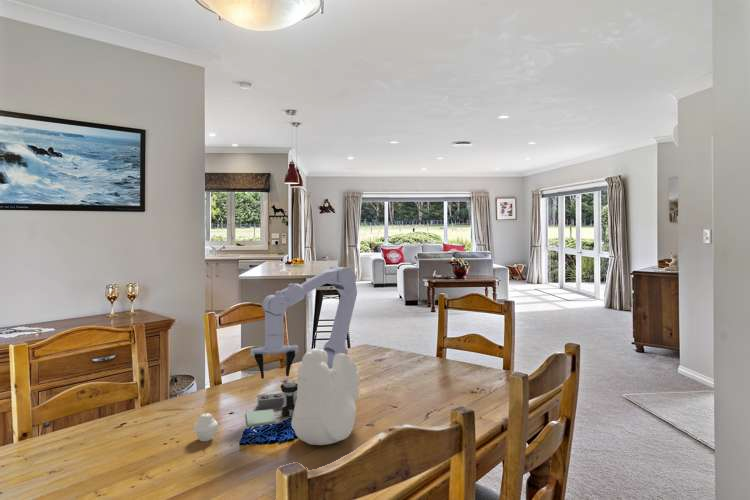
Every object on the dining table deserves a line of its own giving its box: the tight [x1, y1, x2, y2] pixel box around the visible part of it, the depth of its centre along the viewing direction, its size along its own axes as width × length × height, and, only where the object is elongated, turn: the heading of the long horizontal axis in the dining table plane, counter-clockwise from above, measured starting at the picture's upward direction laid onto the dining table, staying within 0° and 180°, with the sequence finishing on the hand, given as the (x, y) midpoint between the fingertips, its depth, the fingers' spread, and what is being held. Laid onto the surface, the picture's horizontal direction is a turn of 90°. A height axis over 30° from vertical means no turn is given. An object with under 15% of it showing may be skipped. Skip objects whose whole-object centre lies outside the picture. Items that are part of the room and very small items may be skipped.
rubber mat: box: [245, 408, 277, 427], centre depth 139 cm, size 8×10×1 cm
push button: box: [276, 379, 298, 418], centre depth 141 cm, size 7×5×10 cm
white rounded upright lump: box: [291, 347, 360, 446], centre depth 126 cm, size 25×16×25 cm, turn 136°
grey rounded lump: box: [193, 412, 219, 442], centre depth 125 cm, size 6×6×7 cm
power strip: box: [257, 390, 298, 411], centre depth 151 cm, size 18×5×4 cm, turn 108°
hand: (275, 376), depth 146 cm, fingers open, 7 cm apart
